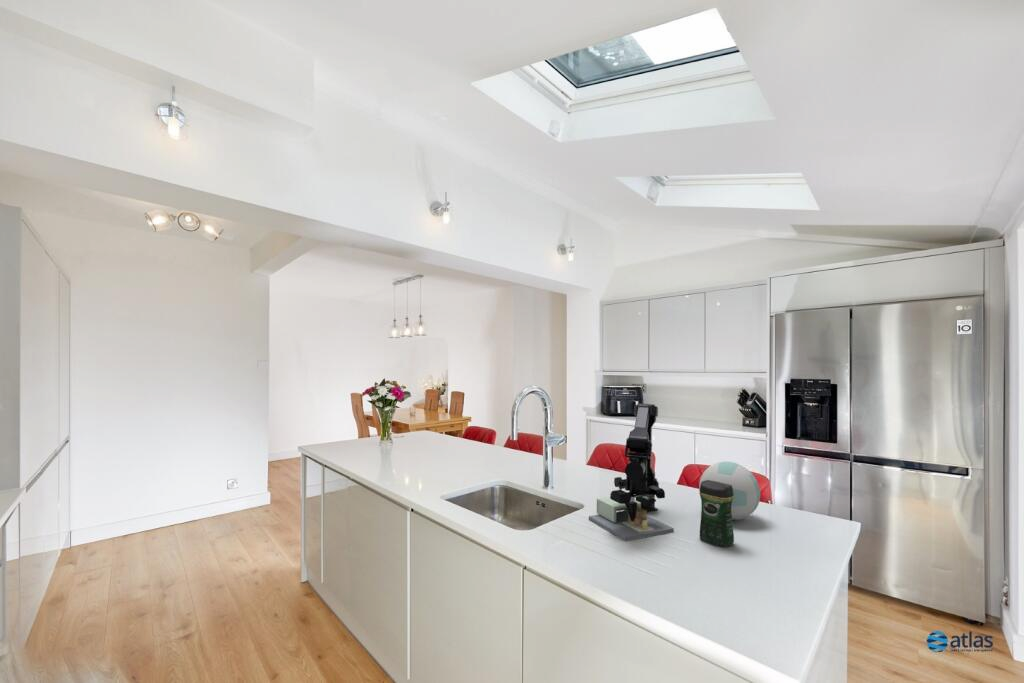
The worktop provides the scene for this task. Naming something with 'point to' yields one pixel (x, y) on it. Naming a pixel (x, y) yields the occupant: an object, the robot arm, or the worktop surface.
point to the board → (631, 526)
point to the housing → (611, 508)
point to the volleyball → (736, 486)
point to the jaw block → (639, 516)
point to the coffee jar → (716, 513)
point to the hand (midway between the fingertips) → (637, 520)
